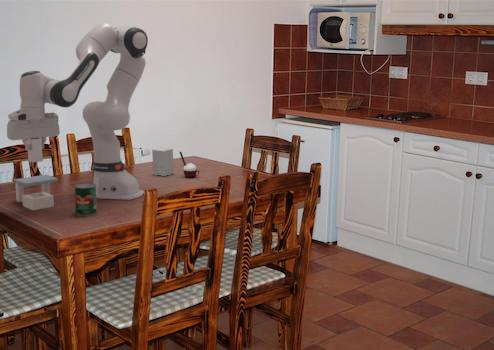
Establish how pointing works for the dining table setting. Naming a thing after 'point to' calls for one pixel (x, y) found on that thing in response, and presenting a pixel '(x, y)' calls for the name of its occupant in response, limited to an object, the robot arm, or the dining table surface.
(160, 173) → the grey fluted block
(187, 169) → the cocoa
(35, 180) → the awning stand
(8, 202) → the dining table surface
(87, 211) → the canned tomato
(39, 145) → the metal peg
